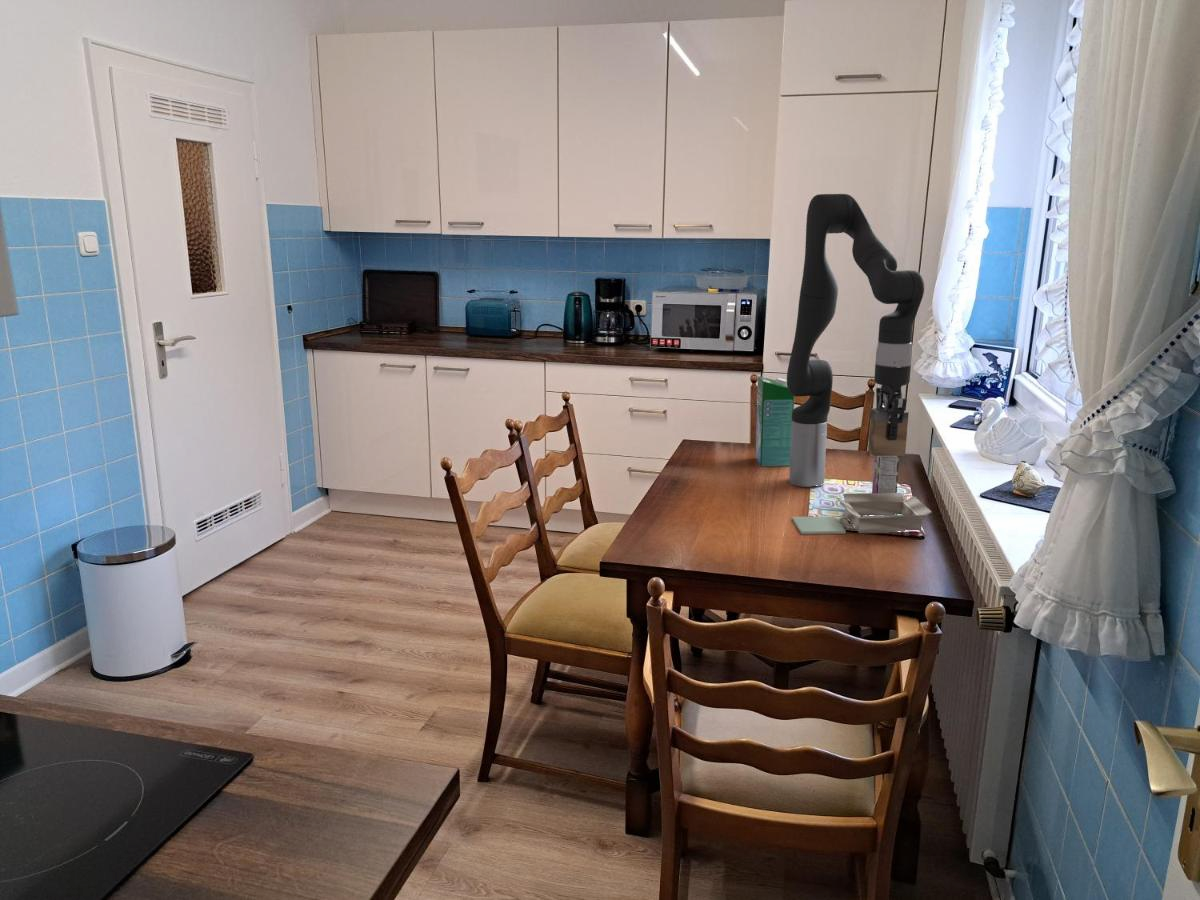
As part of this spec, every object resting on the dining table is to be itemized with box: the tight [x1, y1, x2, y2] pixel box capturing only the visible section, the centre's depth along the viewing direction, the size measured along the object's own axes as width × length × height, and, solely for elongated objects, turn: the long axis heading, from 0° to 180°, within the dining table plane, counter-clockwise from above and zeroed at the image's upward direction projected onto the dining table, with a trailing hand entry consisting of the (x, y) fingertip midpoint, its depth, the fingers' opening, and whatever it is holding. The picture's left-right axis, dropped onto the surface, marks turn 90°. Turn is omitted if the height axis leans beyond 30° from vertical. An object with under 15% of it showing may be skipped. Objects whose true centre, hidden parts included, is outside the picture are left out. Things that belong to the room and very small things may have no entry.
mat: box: [791, 515, 847, 535], centre depth 198 cm, size 10×10×1 cm
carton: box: [836, 492, 932, 534], centre depth 198 cm, size 16×18×5 cm
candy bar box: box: [871, 456, 900, 493], centre depth 211 cm, size 11×5×16 cm, turn 168°
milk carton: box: [755, 376, 795, 467], centre depth 248 cm, size 9×9×25 cm
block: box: [867, 407, 910, 457], centre depth 193 cm, size 4×7×10 cm, turn 90°
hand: (887, 436), depth 194 cm, fingers closed on block, 4 cm apart
